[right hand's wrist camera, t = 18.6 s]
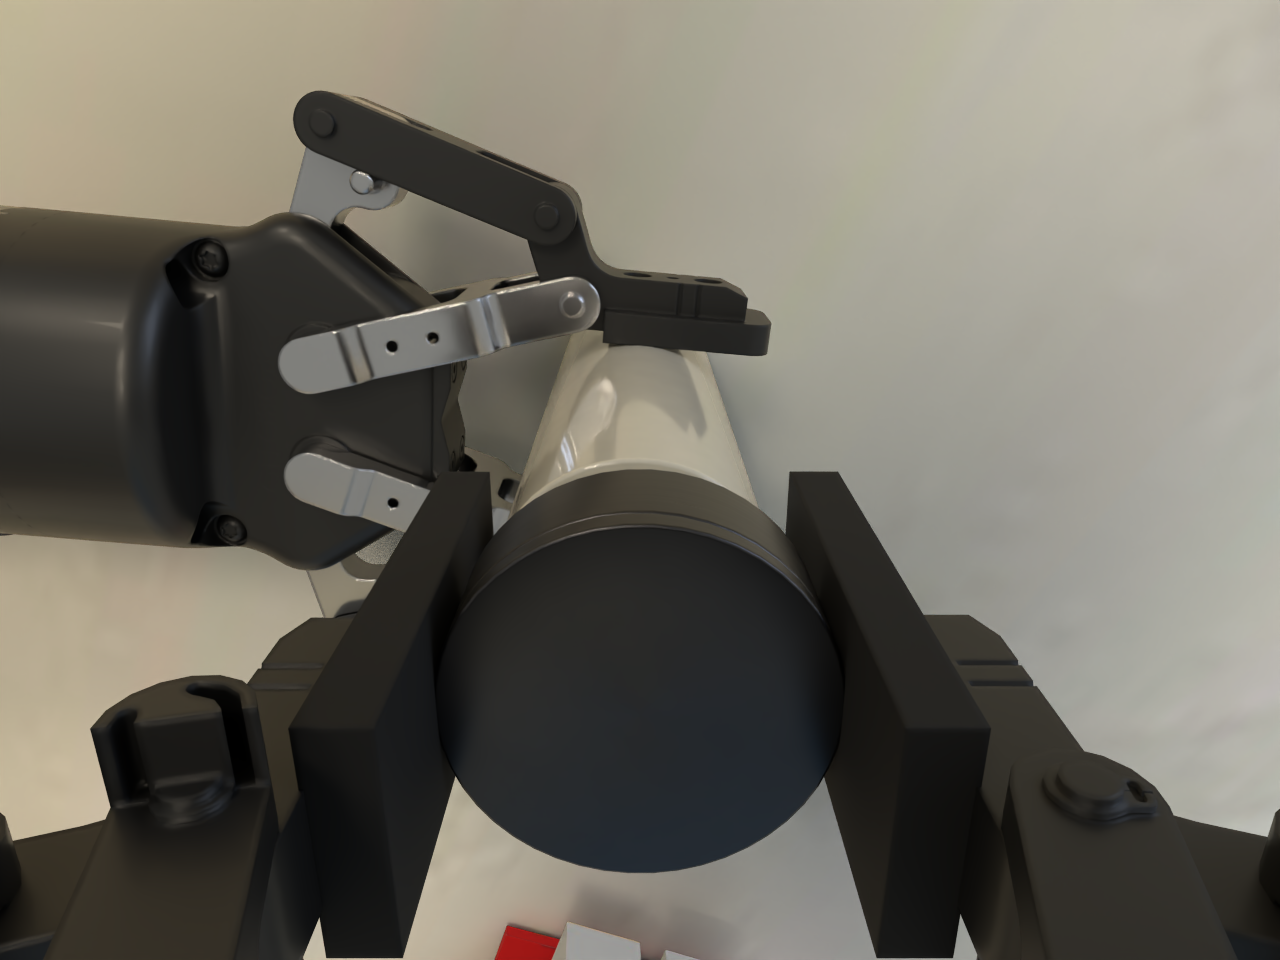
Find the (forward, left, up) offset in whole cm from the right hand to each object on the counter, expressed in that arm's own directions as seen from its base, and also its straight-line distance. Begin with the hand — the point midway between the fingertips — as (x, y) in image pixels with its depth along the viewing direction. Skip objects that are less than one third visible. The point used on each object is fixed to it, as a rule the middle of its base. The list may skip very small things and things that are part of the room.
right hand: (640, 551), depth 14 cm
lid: (0, 0, +4) cm, 4 cm away
